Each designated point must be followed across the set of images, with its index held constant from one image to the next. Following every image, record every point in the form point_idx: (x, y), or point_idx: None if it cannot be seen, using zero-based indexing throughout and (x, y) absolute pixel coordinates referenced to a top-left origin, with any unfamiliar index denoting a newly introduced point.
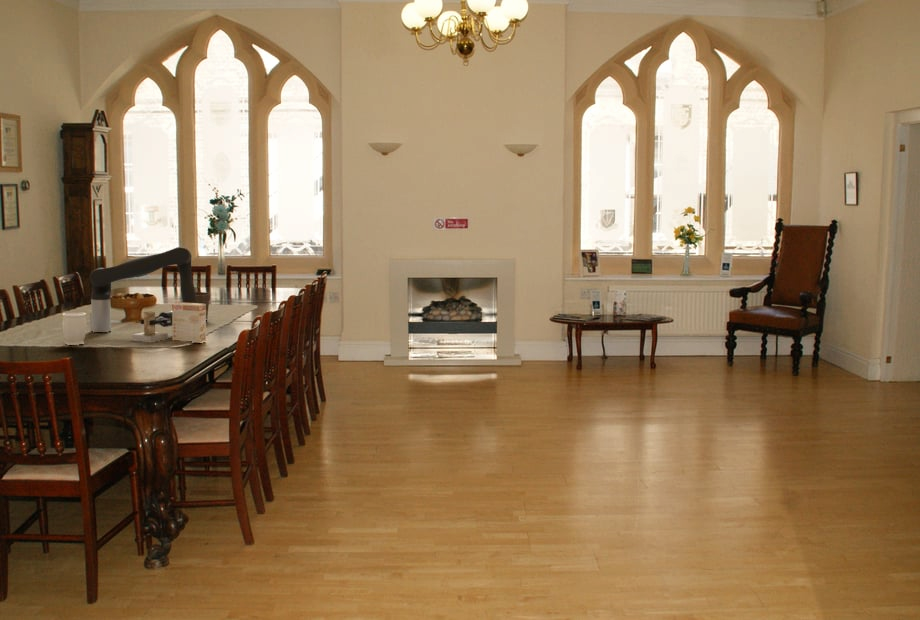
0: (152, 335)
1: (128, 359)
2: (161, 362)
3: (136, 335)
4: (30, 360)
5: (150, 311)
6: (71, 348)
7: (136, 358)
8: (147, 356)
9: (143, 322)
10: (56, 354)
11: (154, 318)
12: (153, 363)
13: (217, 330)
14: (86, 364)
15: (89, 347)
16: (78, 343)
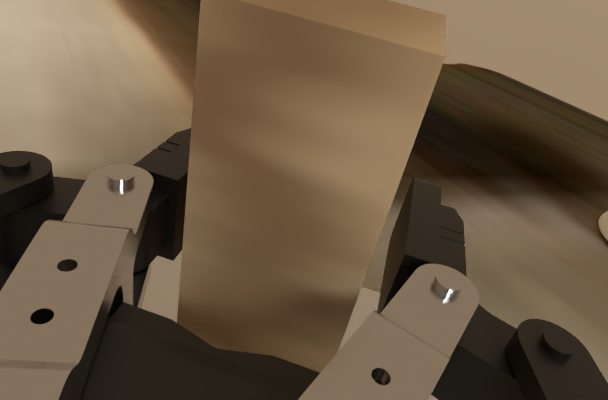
0: (167, 283)
1: (164, 43)
2: (15, 8)
3: (367, 292)
4: (446, 65)
5: (357, 23)
6: (541, 173)
7: (136, 47)
8: (94, 60)
9: (395, 238)
10: (465, 103)
11: (196, 175)
12: (48, 7)
13: None
14: None
15: (498, 191)
16: (606, 215)
